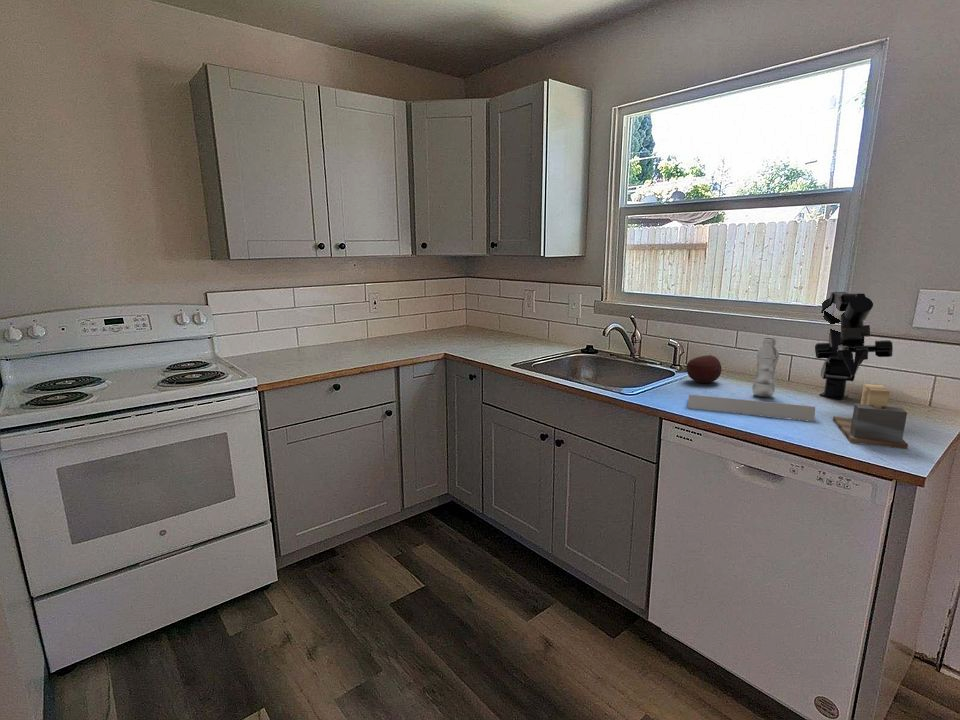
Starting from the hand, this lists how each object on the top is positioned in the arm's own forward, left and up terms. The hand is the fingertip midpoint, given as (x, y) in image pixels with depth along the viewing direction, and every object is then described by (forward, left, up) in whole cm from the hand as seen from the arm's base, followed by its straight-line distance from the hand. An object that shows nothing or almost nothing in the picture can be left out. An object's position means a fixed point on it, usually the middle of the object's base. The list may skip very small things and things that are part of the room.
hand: (853, 375), depth 150 cm
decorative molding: (+19, -20, -13) cm, 31 cm away
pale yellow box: (+15, +11, -11) cm, 22 cm away
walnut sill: (+14, +10, -12) cm, 21 cm away
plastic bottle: (+1, -24, -13) cm, 28 cm away
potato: (+1, -46, -13) cm, 48 cm away
